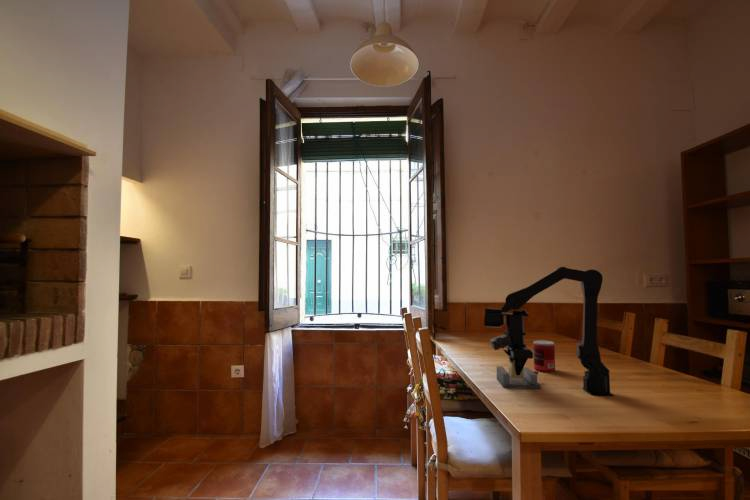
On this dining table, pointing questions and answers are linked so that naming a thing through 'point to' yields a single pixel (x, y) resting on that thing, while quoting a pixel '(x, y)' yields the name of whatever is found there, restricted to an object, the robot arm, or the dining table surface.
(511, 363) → the block
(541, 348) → the canned food
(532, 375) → the jaw
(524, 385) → the vise base
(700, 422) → the dining table surface
